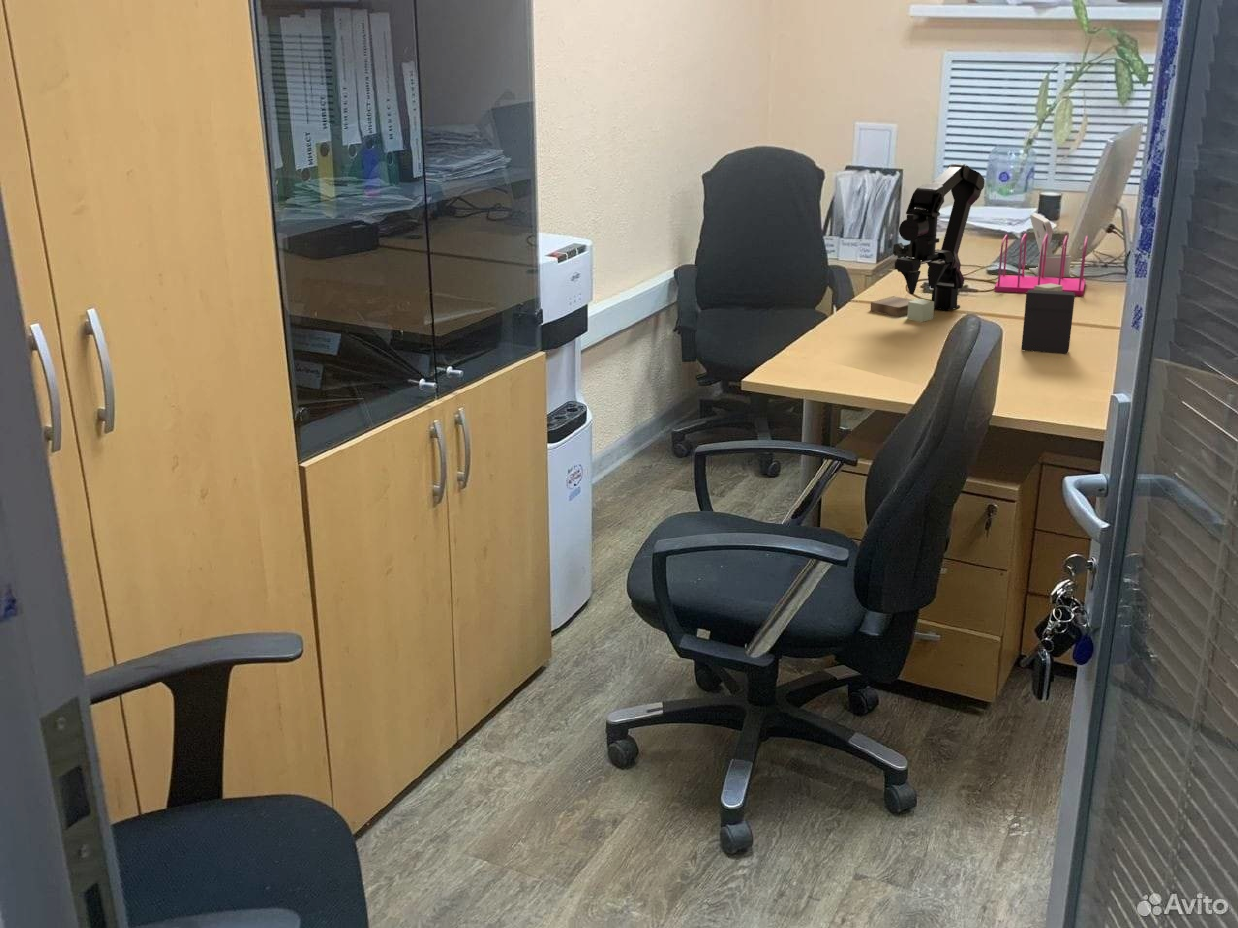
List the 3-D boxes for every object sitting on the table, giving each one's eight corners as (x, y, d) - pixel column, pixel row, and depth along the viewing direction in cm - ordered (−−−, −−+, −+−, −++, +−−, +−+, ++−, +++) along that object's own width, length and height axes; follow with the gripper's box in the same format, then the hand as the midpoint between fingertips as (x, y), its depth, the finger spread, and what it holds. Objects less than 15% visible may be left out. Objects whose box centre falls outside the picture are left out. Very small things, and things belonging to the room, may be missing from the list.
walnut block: (920, 311, 330) (921, 301, 329) (898, 318, 324) (898, 307, 323) (892, 306, 337) (893, 296, 336) (870, 312, 332) (870, 302, 330)
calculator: (1068, 350, 287) (1075, 291, 281) (1067, 355, 283) (1074, 295, 278) (1022, 347, 291) (1028, 288, 286) (1020, 351, 287) (1026, 292, 282)
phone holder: (1071, 277, 363) (1078, 219, 357) (1039, 277, 364) (1045, 220, 357) (1054, 265, 380) (1059, 210, 373) (1023, 266, 380) (1028, 211, 373)
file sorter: (1082, 297, 339) (1088, 243, 333) (994, 292, 348) (998, 240, 342) (1085, 284, 353) (1090, 233, 348) (1000, 280, 363) (1004, 230, 357)
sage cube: (933, 319, 320) (934, 301, 319) (921, 322, 318) (922, 304, 316) (918, 316, 324) (919, 298, 322) (907, 319, 321) (908, 301, 319)
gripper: (922, 226, 324) (919, 281, 329) (879, 236, 313) (877, 292, 319) (956, 231, 315) (952, 287, 321) (912, 241, 305) (909, 298, 310)
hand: (922, 291), depth 318 cm, fingers open, 9 cm apart
